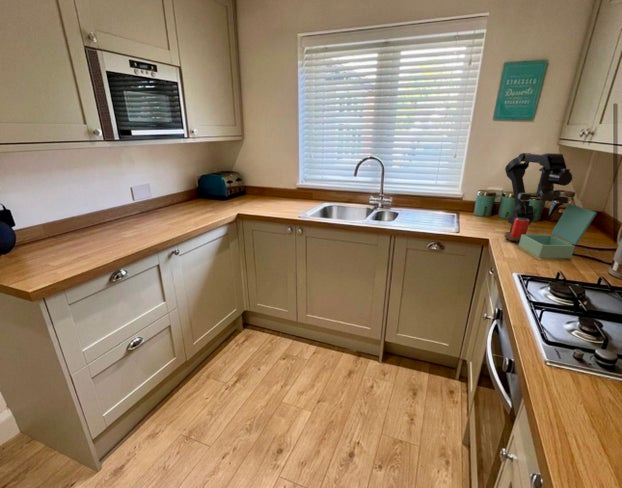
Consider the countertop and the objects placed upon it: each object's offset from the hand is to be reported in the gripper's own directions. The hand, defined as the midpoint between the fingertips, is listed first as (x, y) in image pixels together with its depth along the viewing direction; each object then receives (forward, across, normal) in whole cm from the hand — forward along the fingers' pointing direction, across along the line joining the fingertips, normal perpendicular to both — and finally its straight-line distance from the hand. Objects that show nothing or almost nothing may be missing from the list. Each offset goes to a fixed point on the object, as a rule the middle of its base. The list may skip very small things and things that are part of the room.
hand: (537, 216), depth 154 cm
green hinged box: (+13, +2, -14) cm, 20 cm away
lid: (0, +10, -12) cm, 16 cm away
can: (+10, -7, -3) cm, 12 cm away
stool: (+13, -8, -3) cm, 15 cm away
